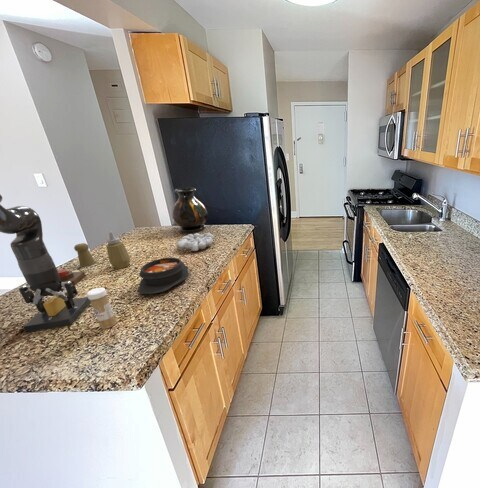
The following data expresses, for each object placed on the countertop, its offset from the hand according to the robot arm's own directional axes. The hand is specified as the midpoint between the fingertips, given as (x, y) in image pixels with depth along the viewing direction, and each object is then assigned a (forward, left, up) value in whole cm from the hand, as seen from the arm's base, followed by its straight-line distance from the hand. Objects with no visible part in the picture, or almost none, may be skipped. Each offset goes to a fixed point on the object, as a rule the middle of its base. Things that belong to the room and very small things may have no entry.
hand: (58, 309), depth 91 cm
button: (-12, +29, +1) cm, 31 cm away
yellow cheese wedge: (0, 0, 0) cm, 0 cm away
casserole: (+30, +15, -3) cm, 34 cm away
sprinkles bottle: (+18, -11, -3) cm, 21 cm away
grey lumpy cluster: (+38, +56, -3) cm, 68 cm away
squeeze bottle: (+6, +39, -3) cm, 40 cm away
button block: (-12, +29, -3) cm, 31 cm away
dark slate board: (0, 0, -3) cm, 3 cm away
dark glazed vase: (+32, +90, -3) cm, 95 cm away
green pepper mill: (-11, +47, -3) cm, 48 cm away
